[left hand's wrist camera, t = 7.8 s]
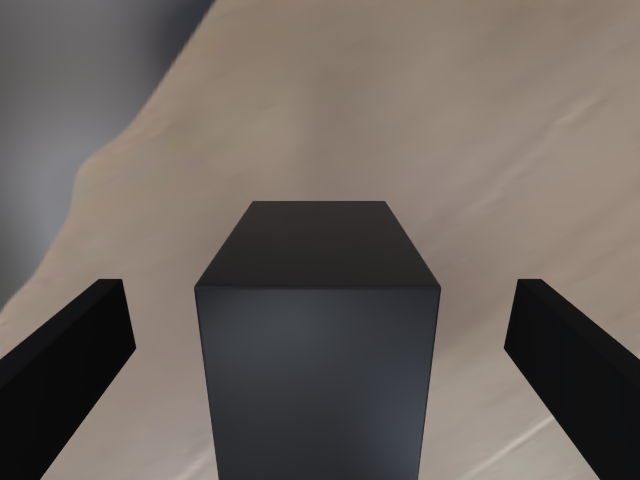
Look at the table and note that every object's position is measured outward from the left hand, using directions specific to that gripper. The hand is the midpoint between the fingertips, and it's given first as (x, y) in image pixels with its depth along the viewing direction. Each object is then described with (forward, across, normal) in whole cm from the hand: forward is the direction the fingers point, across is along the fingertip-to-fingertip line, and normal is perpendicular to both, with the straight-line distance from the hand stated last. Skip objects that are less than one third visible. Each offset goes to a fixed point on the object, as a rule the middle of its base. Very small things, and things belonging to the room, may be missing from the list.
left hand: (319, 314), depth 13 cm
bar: (+4, 0, -10) cm, 11 cm away
